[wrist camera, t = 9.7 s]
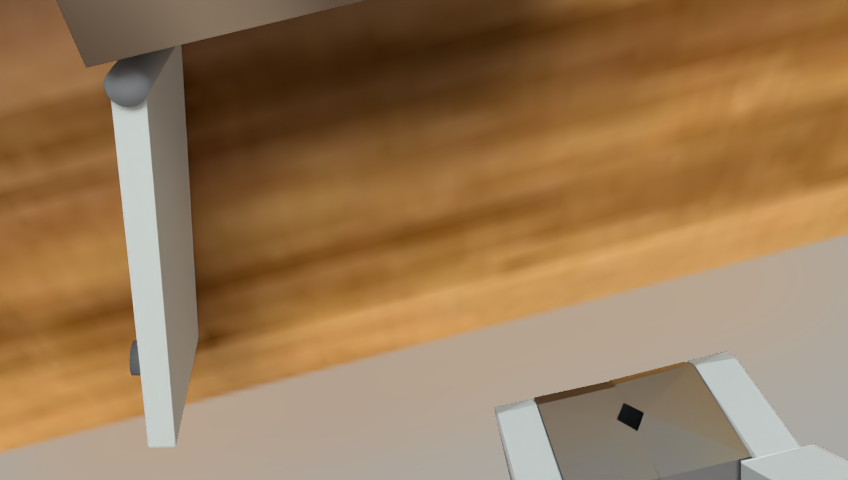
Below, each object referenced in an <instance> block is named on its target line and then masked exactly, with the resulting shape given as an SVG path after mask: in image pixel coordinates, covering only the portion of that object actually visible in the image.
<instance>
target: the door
mask: <svg viewBox="0 0 848 480" xmlns="http://www.w3.org/2000/svg"><path fill="white" fill-rule="evenodd" d="M104 89H105V92H106V94H107V96H108V97H109V98H110V99H111V105H112V114H113V124H114V133H115V142H116V151H117V161H118V170H119V179H120V189H121V198H122V207H123V216H124V226H125V235H126V244H127V253H128V263H129V272H130V281H131V290H132V300H133V309H134V318H135V328H136V337H137V340H134V341H133V343H132V346H131V351H130V371H131V375H141V383H142V392H143V402H144V411H145V420H146V430H147V439H148V447H175V446H176V442H177V438H178V433H179V428H180V424H181V419H182V414H183V409H184V405H185V400H186V395H187V390H188V385H189V381H190V376H191V371H192V366H193V362H194V357H195V352H196V347H197V343H198V338H199V336H198V319H197V302H196V285H195V268H194V251H193V234H192V217H191V200H190V183H189V166H188V149H187V132H186V115H185V98H184V81H183V64H182V47H181V45H178V46H174V47H170V48H166V49H162V50H157V51H153V52H149V53H145V54H141V55H137V56H133V57H128V58H124V59H120V60H118V61H117V62H116V64H115V65H114V66H113V67H112V69H111V70H110V71H109V73H108V74H107V75H106V77H105V80H104Z"/></svg>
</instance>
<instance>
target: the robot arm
mask: <svg viewBox="0 0 848 480" xmlns="http://www.w3.org/2000/svg"><path fill="white" fill-rule="evenodd" d="M495 415H496V419H497V424H498V427H499V432H500V437H501V441H502V445H503V450H504V454H505V458H506V462H507V466H508V471H509V475H510V479H511V480H848V460H846V459H844V458H842V457H840V456H838V455H836V454H834V453H832V452H830V451H828V450H826V449H824V448H822V447H820V446H818V445H816V444H812V445H807V446H801V445H800V444H799V442H798V441H797V440H796V438H795V437H794V435H793V434H792V433H791V431H790V430H789V429H788V427H787V426H786V425H785V423H784V422H783V420H782V419H781V418H780V416H779V415H778V414H777V412H776V411H775V410H774V408H773V407H772V406H771V404H770V403H769V401H768V400H767V399H766V397H765V396H764V395H763V393H762V392H761V390H760V389H759V388H758V386H757V385H756V384H755V382H754V381H753V380H752V378H751V377H750V375H749V374H748V373H747V371H746V370H745V369H744V367H743V366H742V365H741V363H740V362H739V361H738V359H737V358H736V356H735V355H733V354H732V353H730V352H728V351H725V352H721V353H717V354H714V355H709V356H705V357H701V358H698V359H693V360H689V361H688V362H687V363H686V362H682V363H678V364H674V365H670V366H666V367H662V368H658V369H655V370H650V371H646V372H642V373H638V374H635V375H631V376H626V377H622V378H619V379H614V380H610V381H609V382H604V383H600V384H595V385H590V386H586V387H581V388H576V389H572V390H567V391H563V392H558V393H553V394H549V395H544V396H540V397H535V398H534V400H533V399H531V400H526V401H521V402H516V403H511V404H507V405H502V406H497V407H495Z"/></svg>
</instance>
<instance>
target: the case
mask: <svg viewBox="0 0 848 480" xmlns="http://www.w3.org/2000/svg"><path fill="white" fill-rule="evenodd" d="M56 1H57V3H58V5H59V8H60V10H61V12H62V14H63V16H64V19H65V21H66V23H67V25H68V28H69V30H70V32H71V34H72V37H73V39H74V41H75V43H76V46H77V48H78V50H79V52H80V55H81V57H82V59H83V61H84V63H85V66H86V68H87V67H91V66H95V65H99V64H104V63H108V62H112V61H116V60H120V59H124V58H128V57H133V56H137V55H141V54H145V53H149V52H153V51H157V50H162V49H166V48H170V47H174V46H178V45H182V44H187V43H191V42H195V41H199V40H203V39H207V38H211V37H216V36H220V35H224V34H228V33H232V32H236V31H240V30H245V29H249V28H253V27H257V26H261V25H265V24H270V23H274V22H278V21H282V20H286V19H290V18H294V17H299V16H303V15H307V14H311V13H315V12H319V11H323V10H328V9H332V8H336V7H340V6H344V5H348V4H353V3H357V2H361V1H365V0H56Z"/></svg>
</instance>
